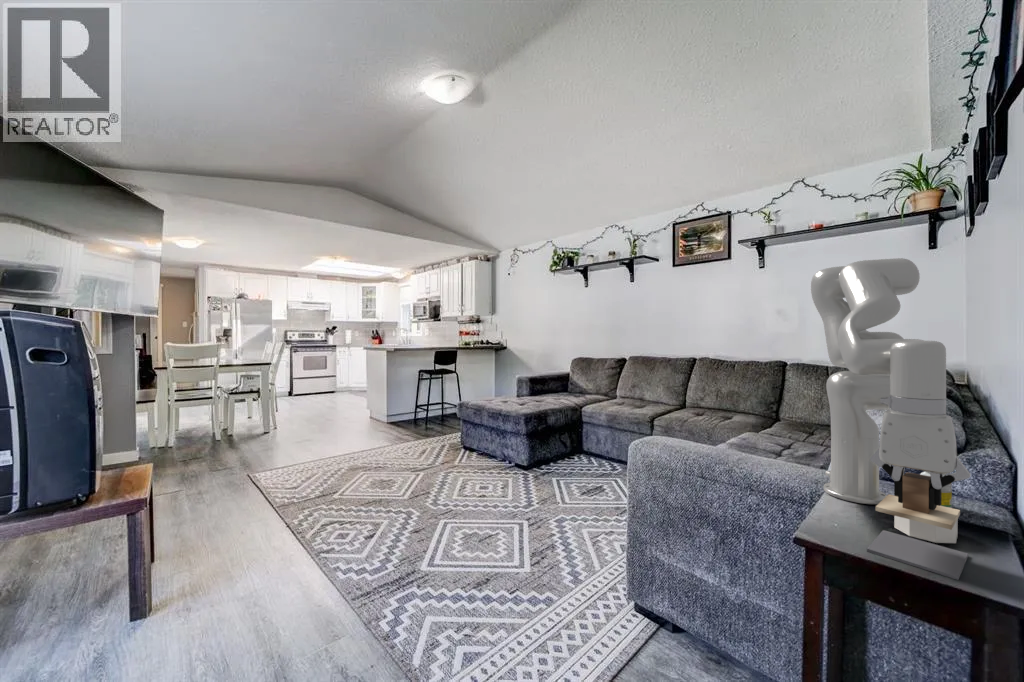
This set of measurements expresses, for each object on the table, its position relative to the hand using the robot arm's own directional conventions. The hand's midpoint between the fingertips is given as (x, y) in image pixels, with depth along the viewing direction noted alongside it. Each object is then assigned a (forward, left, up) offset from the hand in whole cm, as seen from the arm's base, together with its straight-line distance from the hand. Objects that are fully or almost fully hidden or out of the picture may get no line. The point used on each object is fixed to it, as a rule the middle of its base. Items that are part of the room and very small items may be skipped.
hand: (917, 503), depth 79 cm
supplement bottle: (-23, +23, -10) cm, 34 cm away
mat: (0, 0, -10) cm, 10 cm away
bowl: (-9, +9, -10) cm, 16 cm away
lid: (0, 0, -2) cm, 2 cm away
